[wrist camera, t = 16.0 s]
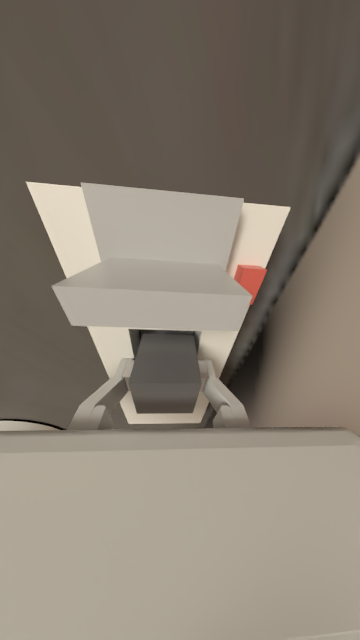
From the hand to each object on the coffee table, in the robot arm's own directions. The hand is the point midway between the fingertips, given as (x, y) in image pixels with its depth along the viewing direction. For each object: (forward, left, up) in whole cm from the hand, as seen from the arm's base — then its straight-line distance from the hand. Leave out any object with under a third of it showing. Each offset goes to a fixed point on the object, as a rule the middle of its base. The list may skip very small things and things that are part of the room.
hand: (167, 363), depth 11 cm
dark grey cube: (0, 0, -1) cm, 1 cm away
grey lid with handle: (+6, +4, -1) cm, 7 cm away
